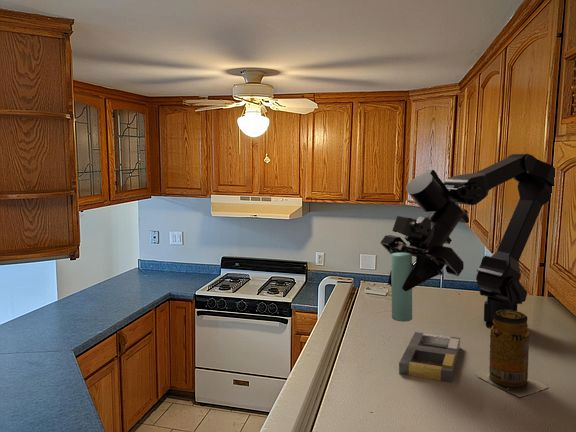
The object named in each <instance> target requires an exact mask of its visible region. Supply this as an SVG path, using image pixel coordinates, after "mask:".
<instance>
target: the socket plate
mask: <svg viewBox="0 0 576 432" xmlns="http://www.w3.org/2000/svg"><path fill="white" fill-rule="evenodd" d="M460 349H461V337H455V336H450V335H449V336H447V335H439V334H433V333H427V332H420V331H415V332H414V333H413V335H412V337H411V339H410V341H409V343H408V345H407V347H406V348H405V351H404V353H403V355H402V357H401V359H400V361H399V362H398V374H402V375H408V376H413V377H419V378H425V379H429V380H430V379H431V380H436V381H441V382H447V383H452V380H453V376H454V372H455V369H456V365H457V361H458V356H459V353H460ZM416 361H422V363H420V362H416ZM423 362H427V363H428V364H427V363H423ZM429 363H434V364H439V365H440V366H439V365H434V364H429Z"/></svg>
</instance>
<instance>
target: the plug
mask: <svg viewBox="0 0 576 432" xmlns="http://www.w3.org/2000/svg"><path fill="white" fill-rule="evenodd" d="M390 264H391V266H390V268H391V270H390V272H391V286H390V287H391V319H392V320H393V321H395V322H403V323H404V322H410V321H412V320H413V288H412V289H410V290H408V291H404V290H403V289H402V287H403V285H404V283H405V281H406V279H407V278H408V276H409V274H410V273H411V271H412V269H413V268H412V264H413V256H412V254H410V253H393V254H390Z"/></svg>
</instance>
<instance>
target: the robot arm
mask: <svg viewBox="0 0 576 432" xmlns="http://www.w3.org/2000/svg"><path fill="white" fill-rule="evenodd" d="M554 167H555V166H554V165H553V164H550V163H547V162H546V161H543V160H541V159H538V158H536V157H535V156H534V155H533V154H530V153H513V154H510V155H508V156H507V157H506V158H504V159H502V160H499V161H497V162H495V163H493V164H491V165H489V166H487V167H485V168H482V169H481V170H478V171H476V172H471V173H464V174H458V175H453V176H450V177H448V178H447V179H446V180H445V181H444V182H443V181H442V179H441V178H440V177H439V175H438V173H437V172H436V171H435V170H434V169H425V170H424V171H423V173H421V174H418V175H417V176H415V177H414V178H413V179H411V180H410V181H409V182H408V184H407V185H406V192H407V193H408V195H409V196H410V197H411V198H412V199H413V201H414V202H415V203H416V204H417V205H418V207H419V208H420V209H421V210H422V211H423V212H427V213H429V214H428V216H427V217H426V216H418V218H417V219H416V218H412V217H408V216H401V215H397V216H396V219H395V222H394V225H393V227H392V232H394V233H399V234H401V235H403V236H404V237H403V238H404V239H403V238H402V237H401V236H396V235H392V234H387V235H385V236H384V237H383V239H382V240H380V245H382V247H383V248H384V249H385V250H386V251H387V252H388V253H389V254H390V255H391V254H393V253H410V254H412V257H415V264H414V263H412V271H411V273H410V274H409V276H408V278H407V279H406V281H405V283H404V285H403V287H402V289H403V290H404V291H408V290H410V289H412V290H413V288H415V287H417V286H419V285H421V284H423V283H425V282H427V281H428V280H430V279H433V278H435V277H437V276H442V275H443V274H444V272H443V269H444V267H445V271H446V273H447V274H449V275H452V276H456V277H459V276H460V275H461V273H462V272H463V270H464V269H465V268H464V266H465V265H464V261H463V260H462V259H461V257H460V256H459V255H458V253H456V252H455V250H454V249H453V248H452V247H449V246H444V245H445V244H448V245H450V244H451V242H452V241H453V239H452V238H450V236H451V235H452V233H453V231H454V230H455V228H456V227H457V225H458V224H459V223H463V224H468V223H470V218H469V215H468V210H467V209H462V207H461V206H460V205H466V206H468V205H469V206H475V205H477V204H479V203H480V202H482V201H483V200H484V199H485V198H486V197H487V196H488V195H489V192H490V191H491V190H492V189H494V188H496V187H497V186H500V185H501V184H504V183H506V182H508V181H510V180H512V179H513V180H515V181H516V182H517V191H518V196H519V199H518V201H517V204H516V206H515V208H514V211H513V213H512V215H511V217H510V220H509V223H508V224H507V227H506V229H505V231H504V234H503V237H502V238H501V241H500V243H499V245H498V247H497V250H496V252H495V253H494V254H492V255H491V256H489V255H484V256H483V257H482V259H481V262H480V265H479V267H478V268H477V269H476V272H477V274H476V279H475V280H476V283H477V287H478V291H479V294H480V296H484V297H486V300H485V301H484V304H483V321H484V322H485V327H488V328H491V327H492V326H493V325H494V324H493V320H494V316H493V315H494V313H495V312H496V311H498V310H513V311H518V305H522V304H523V303H524V302H526V300H527V296H528V291H527V290H526V289H525V287H524V286H523V284H522V283H521V282H520V279H521V276H522V273H521V267H520V263H519V261H520V258H521V256H522V254H523V252H524V250H525V248H526V245H527V242H528V240H529V238H530V235H531V233H532V230H533V228H534V226H535V224H536V221H537V220H538V217H539V215H540V212H541V210H542V207H543V206H544V205H546V204H547V203H548V202H549V200H550V197H551V193H552V186H554V177H555V168H554ZM550 201H551V200H550ZM404 240H405V241H406V242H408V244H407V243H406V242H405V241H404ZM387 284H388V285H389V286H390V287H392V286H391V271H390V273H389V276H388V281H387Z"/></svg>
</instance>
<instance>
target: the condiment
mask: <svg viewBox="0 0 576 432" xmlns="http://www.w3.org/2000/svg"><path fill="white" fill-rule="evenodd" d="M493 316H494V320H493V324H494V325H493V326H492V327H490V334H489V337H490V338H489V340H490V343H489V365H488V366H489V367H488V368H489V372H487V373H482V374H480V375H479V374H478V375H477V377H478V378H479V379H482V380H483V381H485V382H487V383H488V384H490V385H493V386H496V387H497V388H500V389H501V390H504V391H506V392H507V393H510V394H513V395H514V396H516V397H518V398H520V397H526V396H529V395H532V394H535V393H538V392H540V391H543V390H545V389H547V388H549V386H547V385H545V384H543V383H540V382H539V381H536V380H534V379H532V378H529V377H528V375H529V352H530V351H529V349H530V333H529V330H528V326H529V325H528V316H527V315H526V314H525V313H523V312H521V311H518V310H517V311H513V310H498V311H496V312H495V313H494V315H493Z"/></svg>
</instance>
